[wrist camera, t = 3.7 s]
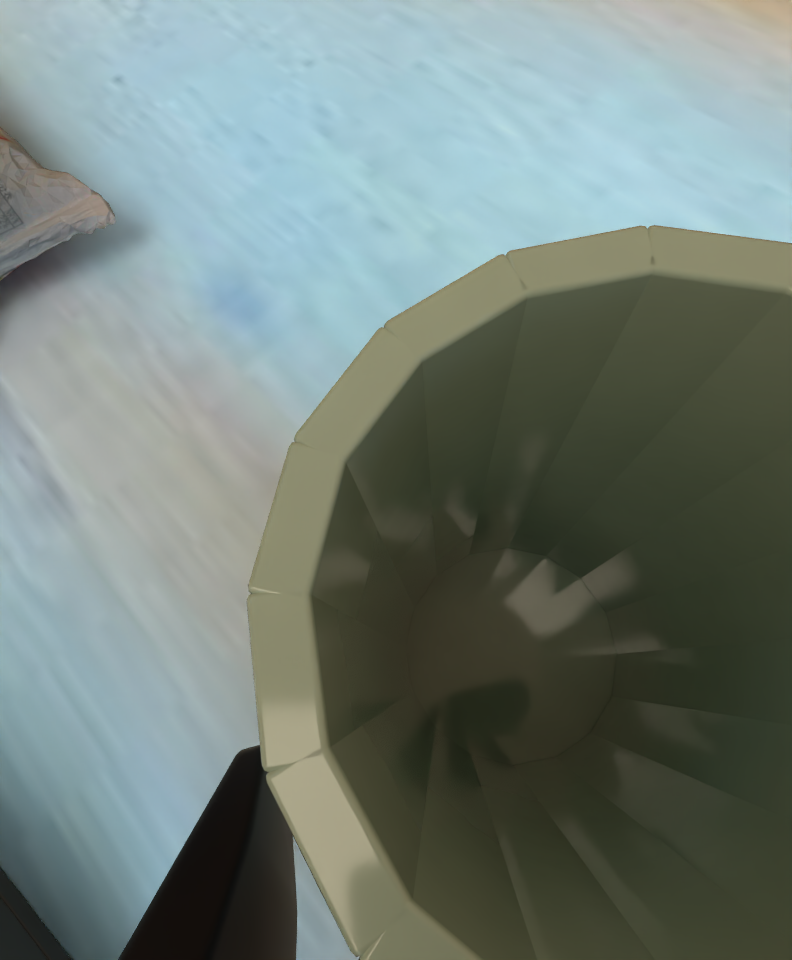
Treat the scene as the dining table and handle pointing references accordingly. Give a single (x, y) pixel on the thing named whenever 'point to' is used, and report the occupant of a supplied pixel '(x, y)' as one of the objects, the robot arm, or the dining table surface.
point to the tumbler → (546, 612)
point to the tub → (23, 929)
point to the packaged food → (41, 207)
